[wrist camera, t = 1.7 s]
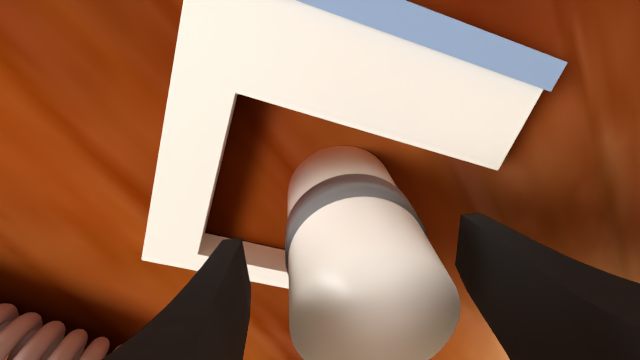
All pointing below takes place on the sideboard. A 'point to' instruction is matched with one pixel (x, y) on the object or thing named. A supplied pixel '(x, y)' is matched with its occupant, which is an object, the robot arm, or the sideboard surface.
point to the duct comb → (329, 97)
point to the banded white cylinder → (361, 265)
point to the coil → (44, 339)
